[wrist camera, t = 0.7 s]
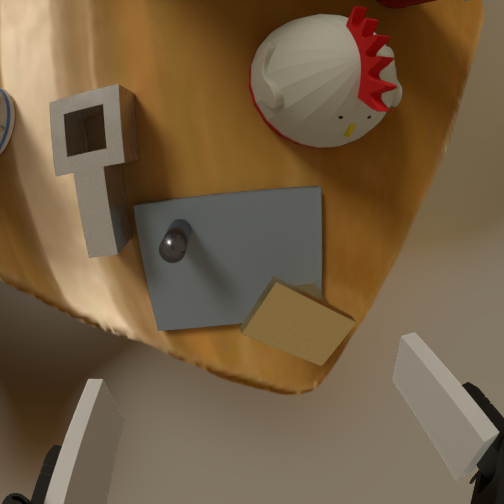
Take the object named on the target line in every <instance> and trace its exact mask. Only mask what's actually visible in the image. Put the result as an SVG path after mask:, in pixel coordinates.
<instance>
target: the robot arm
mask: <svg viewBox="0 0 504 504" xmlns="http://www.w3.org/2000/svg"><path fill="white" fill-rule="evenodd" d="M392 381H393V382H394V384H395V385H396V387H397V388H398V390H399V392H400V393H401V395H402V396H403V397H404V399H405V401H406V402H407V404H408V405H409V407H410V408H411V410H412V412H413V413H414V415H415V416H416V418H417V419H418V421H419V423H420V424H421V426H422V427H423V429H424V430H425V432H426V434H427V435H428V437H429V438H430V440H431V442H432V443H433V445H434V446H435V448H436V450H437V451H438V453H439V454H440V456H441V458H442V460H443V461H444V463H445V465H446V466H447V468H448V469H449V471H450V473H451V474H452V476H453V478H454V480H455V481H457V480H458V479H460V478H462V477H464V476H466V475H467V474H469V473H471V471H472V470H473V469H474V467H475V466H476V465H477V467H478V468H479V470H478V472H477V473H476V474H475V475H474V476H473V478H472V479H471V481H470V484H472V483H473V482H474V480H475V479H476V481H475V486H474V491H473V495H472V500H471V504H504V418H503V416H502V415H501V414H500V413H499V412H498V410H497V409H496V408H495V407H494V406H493V405H492V404H490V401H489V400H488V399H487V398H485V395H484V394H483V393H482V392H481V391H480V389H479V388H477V387H476V386H474V385H473V384H471V383H469V382H467V383H465V384H463V385H461V384H460V383H459V382H458V381H457V379H456V378H455V377H454V376H453V375H452V374H451V372H450V371H449V370H448V369H447V368H446V367H445V365H443V363H442V362H441V361H440V360H439V359H438V357H437V356H436V355H435V354H434V353H433V352H432V351H431V350H430V348H429V347H428V346H427V345H426V344H425V343H424V342H423V341H422V340H421V339H420V337H419V336H418V335H417V334H416V333H415V332H414V333H410V334H407V335H404V336H401V339H400V344H399V350H398V355H397V360H396V364H395V369H394V374H393V378H392ZM123 422H124V418H123V417H122V415H121V413H120V411H119V409H118V407H117V405H116V404H115V402H114V400H113V398H112V396H111V394H110V393H109V390H108V388H107V386H106V384H105V382H104V380H103V379H88V381H87V384H86V386H85V388H84V391H83V393H82V396H81V398H80V401H79V403H78V406H77V408H76V411H75V413H74V416H73V418H72V421H71V424H70V426H69V429H68V432H67V434H66V437H65V440H64V443H63V445H62V446H58V445H54V446H53V447H52V448H51V449H50V451H49V452H48V453H47V455H46V457H45V460H44V463H43V464H44V465H43V466H42V469H41V474H39V477H38V480H37V483H36V486H35V489H34V492H33V495H32V499H31V501H29V500H28V499H27V498H26V497H25V496H23V495H22V494H19V493H13V494H10V495H8V496H7V497H6V498H5V499H4V501H3V503H2V504H107V499H108V494H109V488H110V483H111V478H112V473H113V468H114V463H115V458H116V453H117V449H118V444H119V440H120V436H121V431H122V427H123Z"/></svg>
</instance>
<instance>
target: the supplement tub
mask: <svg viewBox="0 0 504 504" xmlns="http://www.w3.org/2000/svg"><path fill="white" fill-rule="evenodd" d="M14 121H15V111H14V105H13V101H12V99H11V97H10V95H9V94H8V93H7V92H6V91H5V90H4V89H2V88H0V155H1V153H2V152H3V151H4V149H5V148H6V146H7V144H8V142H9V140H10V137H11V134H12V131H13V127H14Z"/></svg>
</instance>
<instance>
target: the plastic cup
mask: <svg viewBox="0 0 504 504" xmlns="http://www.w3.org/2000/svg"><path fill="white" fill-rule="evenodd" d="M377 1H379V2H380V3H382V4H383V5H385V6H388V7H390V8H404V7H407V6H411V5H418V4H422V3H426V2H431V1H436V0H377ZM465 1H469V0H465Z"/></svg>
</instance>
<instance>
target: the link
mask: <svg viewBox="0 0 504 504" xmlns="http://www.w3.org/2000/svg"><path fill="white" fill-rule="evenodd" d="M49 104H50V124H51V138H52V149H53V158H54V167H55V174H56V176H60V175H65V174H69V173H74V177H75V184H76V191H77V197H78V204H79V209H80V215H81V220H82V226H83V231H84V236H85V240H86V245H87V249H88V254H89V258H91V257H100V256H109V255H117V254H119V253H120V251H121V250H122V249H123V248H124V246H125V245H126V244H127V243H128V242H129V240H130V239H131V238H132V233H131V227H130V221H129V215H128V208H127V202H126V195H125V188H124V180H123V172H122V164H121V163H125V162H130V161H135V160H139V159H140V158H139V149H138V138H137V127H136V114H135V99H134V93H133V92H131V91H129V90H128V89H126V88H124V87H123V86H121V85H119V84H117V85H112V86H108V87H104V88H100V89H96V90H92V91H88V92H84V93H80V94H77V95H73V96H70V97H67V98H63V99H60V100H57V101H54V102H51V103H49ZM100 114H104V123H105V136H106V146H107V149H102V150H97V151H92V152H89V144H88V133H87V120H86V118H87V117H91V116H95V115H100Z"/></svg>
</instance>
